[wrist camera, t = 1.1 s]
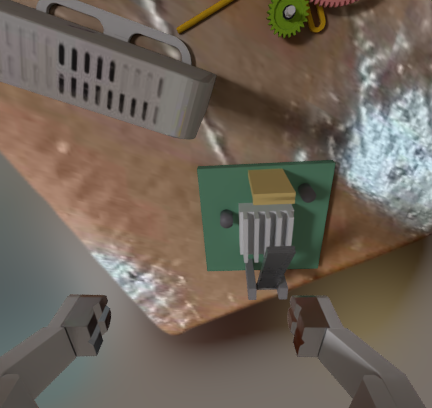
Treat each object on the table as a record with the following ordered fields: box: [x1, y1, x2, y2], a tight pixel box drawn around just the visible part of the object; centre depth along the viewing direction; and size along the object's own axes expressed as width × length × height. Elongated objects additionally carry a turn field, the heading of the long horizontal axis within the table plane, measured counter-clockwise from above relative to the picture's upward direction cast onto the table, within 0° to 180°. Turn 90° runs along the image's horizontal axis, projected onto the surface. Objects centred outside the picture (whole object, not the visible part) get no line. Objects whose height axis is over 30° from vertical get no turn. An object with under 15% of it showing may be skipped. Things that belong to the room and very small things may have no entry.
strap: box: [256, 246, 296, 290], centre depth 35 cm, size 3×16×1 cm
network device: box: [0, 0, 217, 139], centre depth 24 cm, size 26×9×20 cm, turn 72°
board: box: [197, 160, 335, 300], centre depth 39 cm, size 20×20×9 cm
